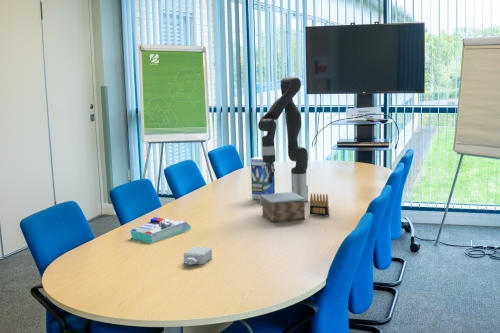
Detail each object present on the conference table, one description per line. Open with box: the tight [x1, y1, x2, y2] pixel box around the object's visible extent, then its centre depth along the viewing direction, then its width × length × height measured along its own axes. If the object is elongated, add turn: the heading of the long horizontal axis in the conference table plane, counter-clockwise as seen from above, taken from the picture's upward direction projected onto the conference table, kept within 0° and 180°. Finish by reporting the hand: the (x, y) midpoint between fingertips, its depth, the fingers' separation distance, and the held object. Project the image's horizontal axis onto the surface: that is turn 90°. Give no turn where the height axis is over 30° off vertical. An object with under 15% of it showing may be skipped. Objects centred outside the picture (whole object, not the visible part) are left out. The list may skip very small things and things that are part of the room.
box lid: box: [259, 191, 306, 207], centre depth 315 cm, size 19×20×6 cm
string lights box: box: [250, 156, 276, 200], centre depth 364 cm, size 13×8×26 cm, turn 62°
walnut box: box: [261, 198, 306, 224], centre depth 315 cm, size 18×18×10 cm
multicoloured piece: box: [129, 217, 192, 244], centre depth 292 cm, size 17×30×9 cm, turn 144°
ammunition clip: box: [309, 192, 330, 216], centre depth 317 cm, size 11×2×12 cm, turn 65°
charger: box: [183, 246, 213, 266], centre depth 245 cm, size 5×9×15 cm
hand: (270, 183), depth 334 cm, fingers closed
